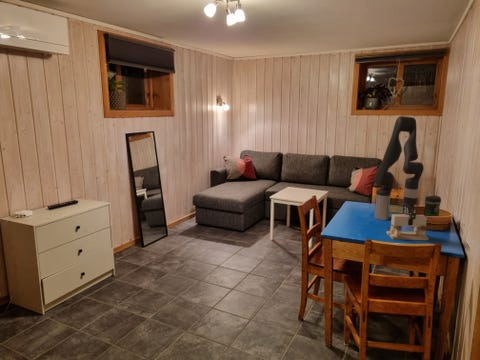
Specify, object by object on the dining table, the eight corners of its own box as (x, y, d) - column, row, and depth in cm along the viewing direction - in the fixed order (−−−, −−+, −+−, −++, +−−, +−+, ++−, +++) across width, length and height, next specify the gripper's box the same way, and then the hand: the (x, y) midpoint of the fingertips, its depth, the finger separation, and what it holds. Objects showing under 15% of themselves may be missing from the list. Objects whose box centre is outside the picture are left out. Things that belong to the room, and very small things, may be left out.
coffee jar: (430, 225, 227) (433, 197, 223) (420, 221, 234) (422, 195, 231) (440, 223, 230) (443, 196, 227) (430, 220, 237) (433, 194, 234)
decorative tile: (408, 217, 245) (409, 212, 244) (379, 212, 257) (380, 208, 257) (415, 212, 259) (415, 207, 258) (387, 208, 272) (387, 203, 271)
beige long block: (391, 223, 206) (391, 214, 205) (422, 224, 204) (423, 215, 203) (393, 226, 201) (394, 216, 200) (425, 227, 199) (426, 217, 198)
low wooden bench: (386, 233, 210) (387, 220, 209) (419, 234, 209) (421, 221, 208) (393, 239, 199) (394, 226, 198) (428, 240, 198) (429, 227, 197)
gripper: (399, 193, 207) (397, 220, 210) (409, 198, 193) (406, 227, 196) (411, 193, 207) (409, 220, 210) (423, 198, 192) (420, 227, 195)
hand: (408, 223), depth 203 cm, fingers closed on beige long block, 5 cm apart
